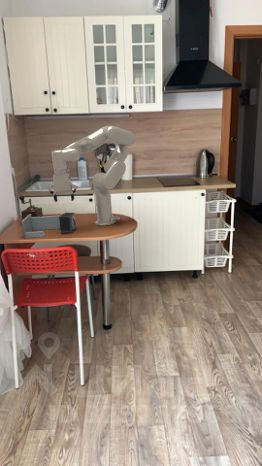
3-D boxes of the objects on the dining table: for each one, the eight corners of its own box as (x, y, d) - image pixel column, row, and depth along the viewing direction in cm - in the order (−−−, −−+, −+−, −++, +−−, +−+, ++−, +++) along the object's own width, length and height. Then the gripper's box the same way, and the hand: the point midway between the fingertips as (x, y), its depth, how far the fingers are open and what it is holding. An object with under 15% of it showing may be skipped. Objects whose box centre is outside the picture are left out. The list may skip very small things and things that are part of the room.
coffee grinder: (44, 220, 258) (41, 194, 252) (36, 225, 247) (32, 198, 242) (24, 220, 262) (20, 194, 257) (15, 225, 252) (11, 198, 246)
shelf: (69, 227, 236) (67, 211, 233) (64, 235, 220) (62, 218, 217) (31, 229, 237) (29, 214, 234) (23, 238, 220) (21, 221, 218)
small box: (70, 233, 222) (68, 216, 219) (60, 234, 223) (58, 216, 220) (76, 228, 232) (74, 212, 229) (66, 228, 233) (64, 212, 230)
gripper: (76, 170, 221) (80, 198, 226) (47, 172, 222) (51, 200, 227) (74, 171, 213) (78, 201, 218) (44, 174, 214) (48, 203, 219)
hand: (64, 201), depth 222 cm, fingers open, 9 cm apart
